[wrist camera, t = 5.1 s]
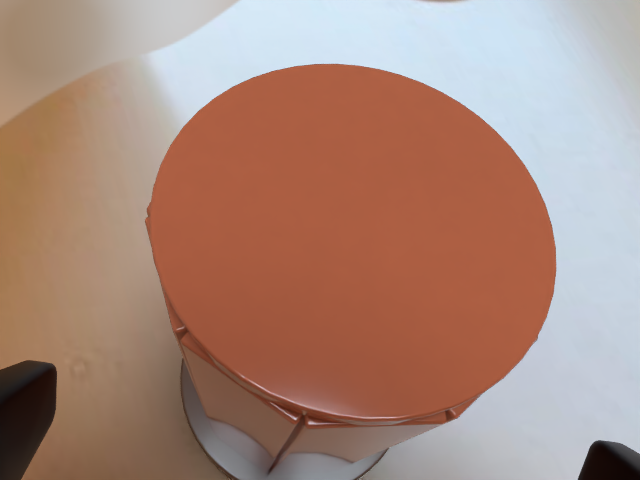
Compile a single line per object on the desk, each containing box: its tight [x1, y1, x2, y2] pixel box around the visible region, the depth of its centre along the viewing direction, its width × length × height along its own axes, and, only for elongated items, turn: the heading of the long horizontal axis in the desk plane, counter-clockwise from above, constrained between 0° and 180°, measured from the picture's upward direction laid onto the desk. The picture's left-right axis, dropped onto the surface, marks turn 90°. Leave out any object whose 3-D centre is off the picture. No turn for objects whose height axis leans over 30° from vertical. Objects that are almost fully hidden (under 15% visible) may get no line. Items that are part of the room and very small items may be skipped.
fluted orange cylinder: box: [145, 64, 556, 475], centre depth 13 cm, size 7×7×11 cm
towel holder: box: [180, 358, 389, 480], centre depth 16 cm, size 8×8×6 cm
